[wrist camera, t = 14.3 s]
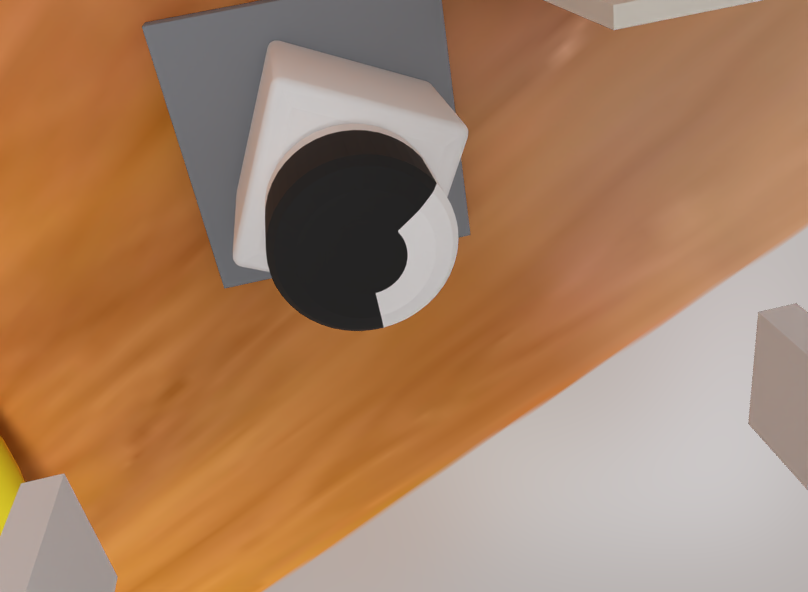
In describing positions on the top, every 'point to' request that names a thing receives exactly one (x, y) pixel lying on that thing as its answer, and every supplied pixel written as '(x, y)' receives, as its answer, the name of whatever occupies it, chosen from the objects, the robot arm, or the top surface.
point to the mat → (241, 73)
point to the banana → (8, 482)
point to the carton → (640, 10)
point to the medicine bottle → (348, 188)
